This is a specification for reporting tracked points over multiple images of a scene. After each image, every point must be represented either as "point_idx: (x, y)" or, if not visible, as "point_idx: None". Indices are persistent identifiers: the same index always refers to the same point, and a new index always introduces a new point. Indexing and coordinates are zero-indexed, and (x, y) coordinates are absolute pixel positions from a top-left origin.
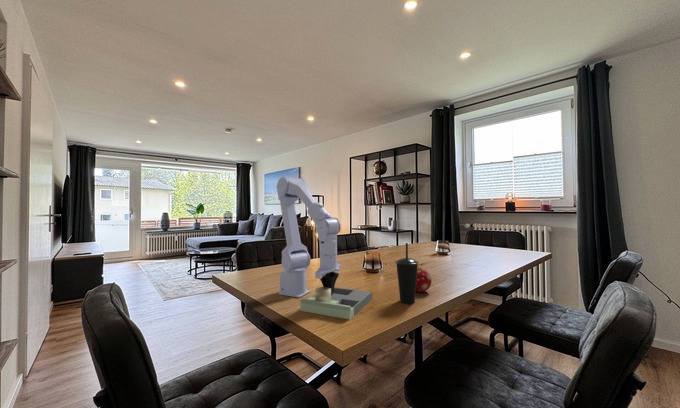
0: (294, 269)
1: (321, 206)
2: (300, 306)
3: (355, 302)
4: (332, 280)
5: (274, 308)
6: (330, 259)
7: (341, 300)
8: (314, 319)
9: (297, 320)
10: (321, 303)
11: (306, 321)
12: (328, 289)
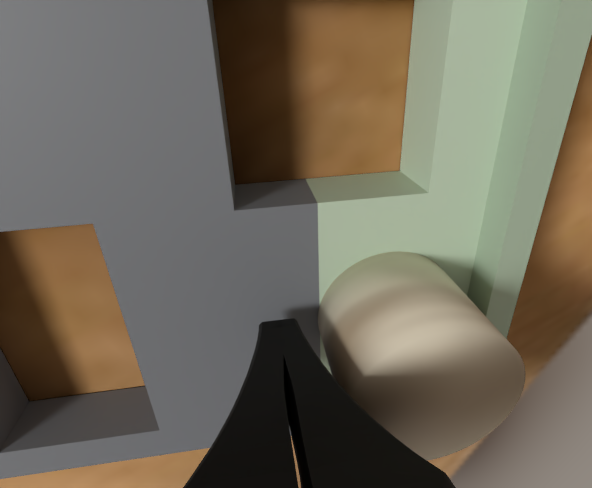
0: None
1: None
2: None
3: (212, 32)
4: (393, 449)
5: (445, 470)
6: None
7: (259, 204)
8: (552, 226)
9: (579, 299)
10: (517, 276)
11: (589, 250)
12: (429, 358)
